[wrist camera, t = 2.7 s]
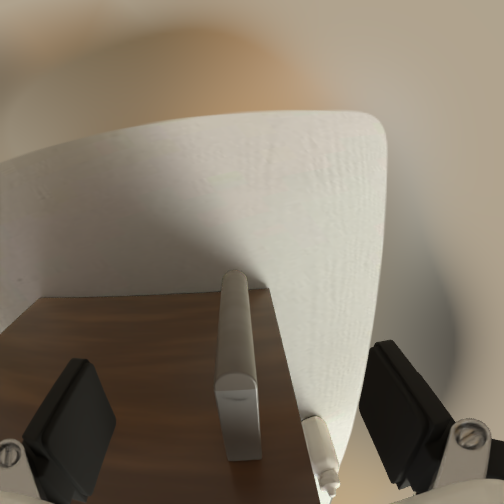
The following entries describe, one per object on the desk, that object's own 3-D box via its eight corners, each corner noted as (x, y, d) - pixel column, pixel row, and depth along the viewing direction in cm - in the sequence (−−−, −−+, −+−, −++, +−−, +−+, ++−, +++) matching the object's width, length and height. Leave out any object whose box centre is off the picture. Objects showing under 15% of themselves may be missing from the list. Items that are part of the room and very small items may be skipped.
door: (27, 250, 28) (-130, 366, 5) (266, 230, 29) (357, 469, 6) (42, 305, 30) (-81, 445, 7) (269, 297, 31) (324, 542, 8)
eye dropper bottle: (296, 439, 38) (309, 507, 27) (302, 415, 37) (320, 488, 25) (325, 437, 39) (343, 502, 27) (333, 412, 37) (357, 482, 26)
